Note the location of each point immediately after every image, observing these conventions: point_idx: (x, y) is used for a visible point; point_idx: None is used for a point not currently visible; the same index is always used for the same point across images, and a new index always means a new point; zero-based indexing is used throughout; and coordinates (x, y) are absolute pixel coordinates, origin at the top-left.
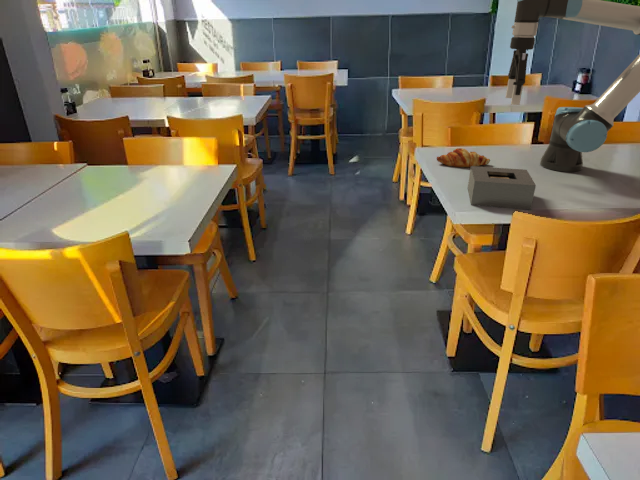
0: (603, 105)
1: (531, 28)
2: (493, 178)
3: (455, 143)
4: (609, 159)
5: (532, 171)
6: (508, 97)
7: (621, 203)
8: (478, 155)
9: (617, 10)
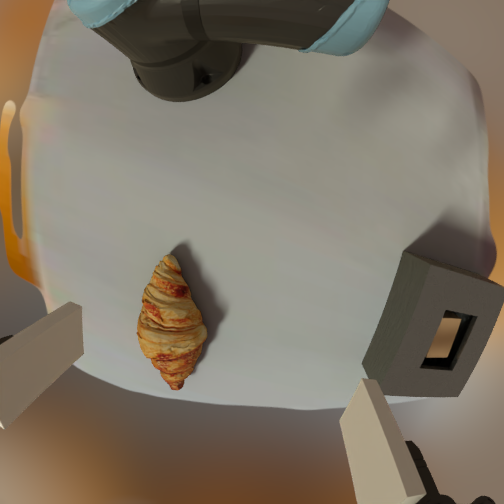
0: None
1: None
2: (460, 363)
3: (19, 271)
4: None
5: (232, 144)
6: (80, 340)
7: (451, 72)
8: (169, 298)
9: None
